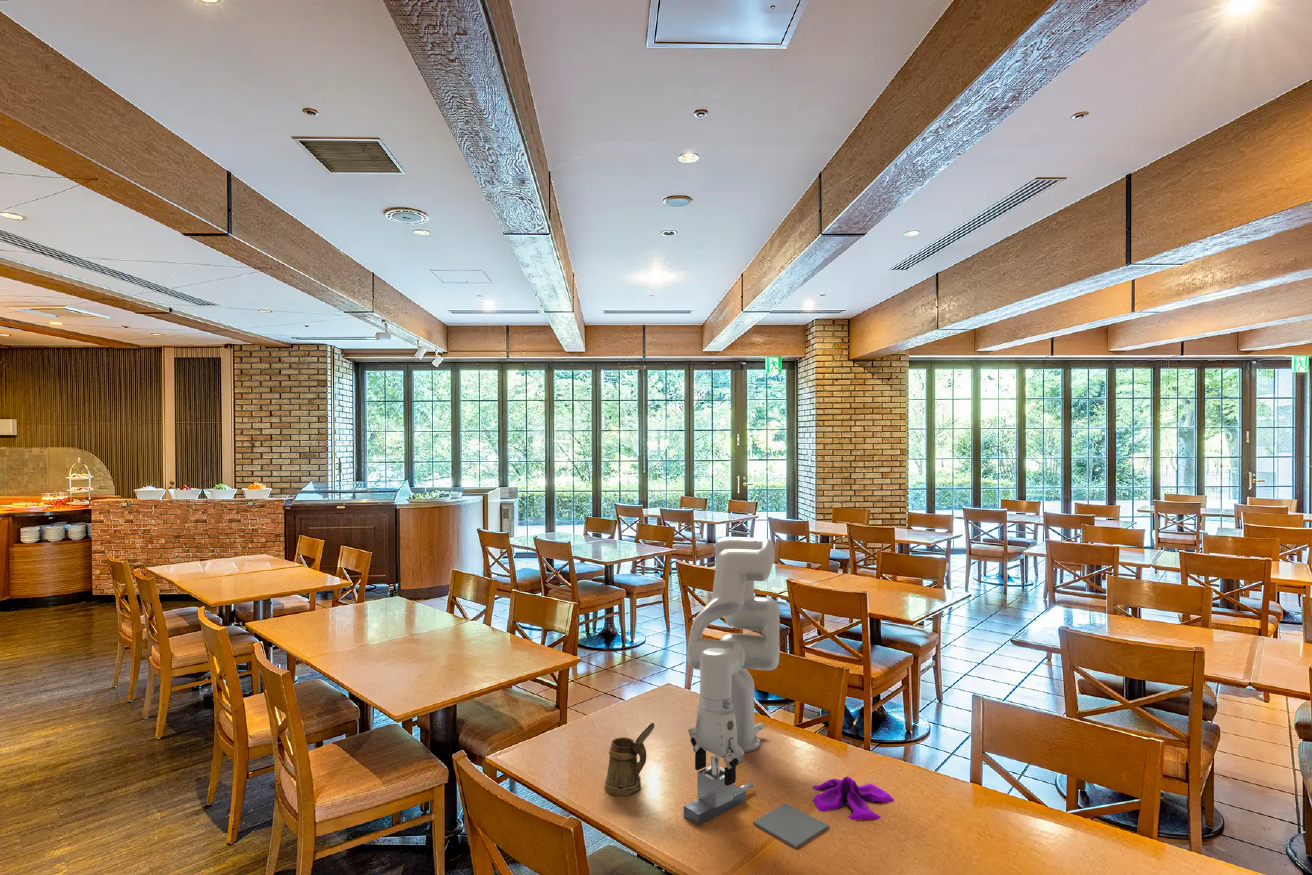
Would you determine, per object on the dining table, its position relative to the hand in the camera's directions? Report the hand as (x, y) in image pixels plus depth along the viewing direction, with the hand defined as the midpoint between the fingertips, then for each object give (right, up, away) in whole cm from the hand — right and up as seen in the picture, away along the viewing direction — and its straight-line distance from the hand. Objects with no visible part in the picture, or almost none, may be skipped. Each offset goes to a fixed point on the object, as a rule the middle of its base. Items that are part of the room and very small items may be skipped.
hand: (714, 775), depth 153 cm
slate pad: (+17, -8, -7) cm, 20 cm away
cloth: (+32, -9, +6) cm, 34 cm away
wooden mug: (-20, -8, +9) cm, 24 cm away
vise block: (+2, -8, +2) cm, 9 cm away
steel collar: (0, -6, 0) cm, 6 cm away
